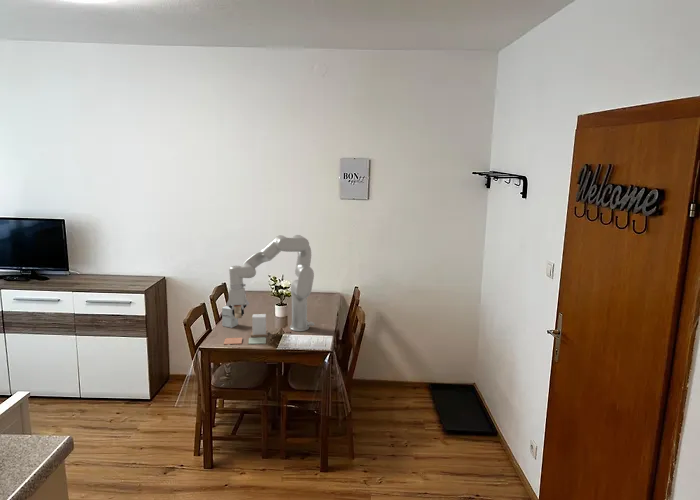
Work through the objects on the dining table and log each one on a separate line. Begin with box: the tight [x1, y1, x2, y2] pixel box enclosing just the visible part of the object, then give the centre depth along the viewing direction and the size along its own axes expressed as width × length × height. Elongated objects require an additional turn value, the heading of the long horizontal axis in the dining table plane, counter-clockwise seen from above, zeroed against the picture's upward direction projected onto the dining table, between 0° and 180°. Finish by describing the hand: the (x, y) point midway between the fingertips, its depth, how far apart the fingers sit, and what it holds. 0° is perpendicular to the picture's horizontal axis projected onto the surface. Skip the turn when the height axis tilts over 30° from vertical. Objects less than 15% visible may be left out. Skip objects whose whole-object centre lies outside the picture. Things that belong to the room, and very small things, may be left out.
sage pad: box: [248, 337, 267, 345], centre depth 298 cm, size 10×9×1 cm
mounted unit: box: [250, 313, 269, 338], centre depth 308 cm, size 10×8×12 cm
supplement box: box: [221, 305, 239, 329], centre depth 323 cm, size 7×7×13 cm
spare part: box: [234, 305, 243, 319], centre depth 304 cm, size 4×4×8 cm
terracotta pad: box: [223, 337, 243, 346], centre depth 297 cm, size 10×9×1 cm
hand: (238, 315), depth 305 cm, fingers closed on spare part, 4 cm apart
